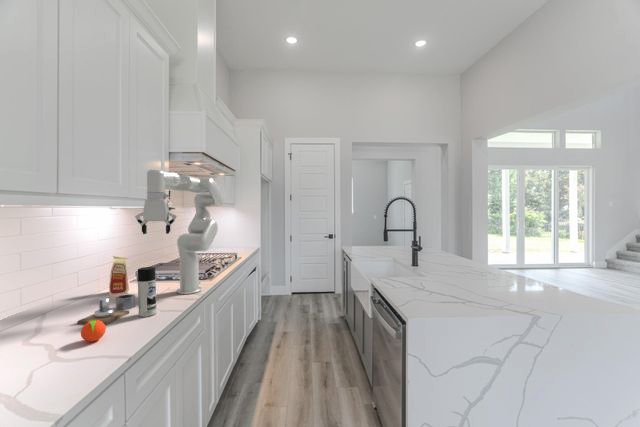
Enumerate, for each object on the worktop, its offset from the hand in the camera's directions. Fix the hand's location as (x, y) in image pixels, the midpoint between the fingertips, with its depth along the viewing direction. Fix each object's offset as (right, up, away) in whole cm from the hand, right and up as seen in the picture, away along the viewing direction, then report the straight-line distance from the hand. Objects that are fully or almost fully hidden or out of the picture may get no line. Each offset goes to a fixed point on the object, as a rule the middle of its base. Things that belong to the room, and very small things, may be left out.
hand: (156, 233), depth 142 cm
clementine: (-2, -35, -37) cm, 51 cm away
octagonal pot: (-13, -34, -1) cm, 36 cm away
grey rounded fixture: (-13, -33, -15) cm, 39 cm away
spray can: (+2, -34, -11) cm, 36 cm away
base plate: (-13, -34, -15) cm, 40 cm away
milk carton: (-33, -34, +24) cm, 53 cm away
